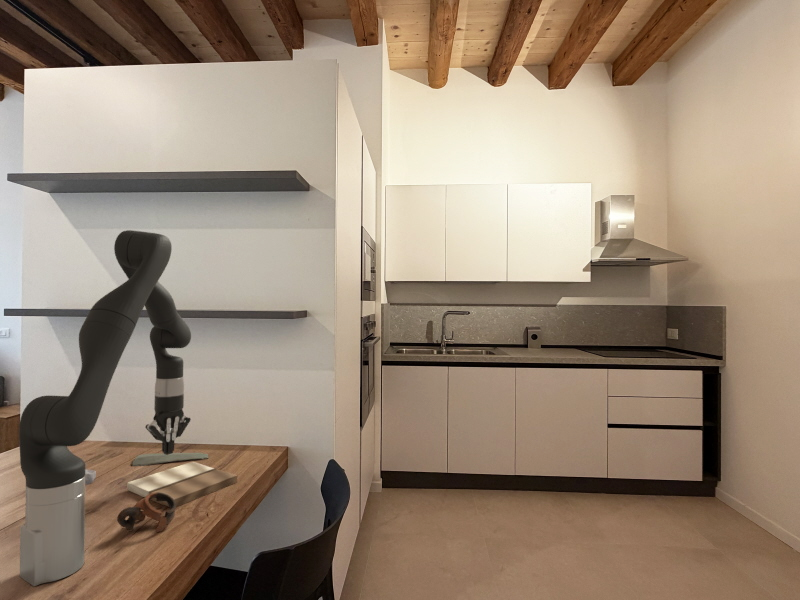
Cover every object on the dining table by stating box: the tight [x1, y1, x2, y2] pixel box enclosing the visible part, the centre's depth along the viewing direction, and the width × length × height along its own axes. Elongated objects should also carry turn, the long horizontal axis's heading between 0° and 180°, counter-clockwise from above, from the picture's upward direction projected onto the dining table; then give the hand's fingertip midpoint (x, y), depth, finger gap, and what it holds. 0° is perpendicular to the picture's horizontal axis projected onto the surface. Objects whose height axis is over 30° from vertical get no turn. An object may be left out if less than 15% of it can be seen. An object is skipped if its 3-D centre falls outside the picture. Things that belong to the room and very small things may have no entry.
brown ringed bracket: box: [116, 492, 177, 533], centre depth 106 cm, size 12×10×8 cm
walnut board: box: [149, 467, 238, 508], centre depth 127 cm, size 20×10×2 cm, turn 149°
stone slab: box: [132, 452, 209, 467], centre depth 153 cm, size 22×3×10 cm
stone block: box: [85, 468, 97, 486], centre depth 132 cm, size 12×5×10 cm
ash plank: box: [126, 461, 214, 498], centre depth 133 cm, size 20×10×2 cm, turn 149°
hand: (168, 453), depth 133 cm, fingers closed
